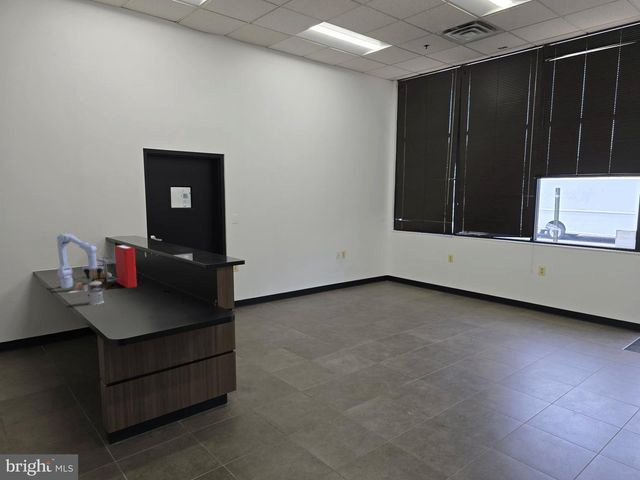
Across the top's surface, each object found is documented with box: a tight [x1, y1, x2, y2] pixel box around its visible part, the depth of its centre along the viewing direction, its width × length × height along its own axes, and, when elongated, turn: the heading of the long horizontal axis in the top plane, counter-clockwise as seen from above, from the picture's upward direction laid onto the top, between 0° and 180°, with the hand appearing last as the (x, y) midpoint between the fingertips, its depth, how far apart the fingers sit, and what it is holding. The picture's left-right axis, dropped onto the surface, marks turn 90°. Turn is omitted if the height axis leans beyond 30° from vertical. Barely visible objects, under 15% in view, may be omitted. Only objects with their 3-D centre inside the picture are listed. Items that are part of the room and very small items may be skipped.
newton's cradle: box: [92, 256, 117, 282], centre depth 372 cm, size 30×10×18 cm, turn 48°
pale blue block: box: [67, 284, 89, 294], centre depth 321 cm, size 6×12×6 cm, turn 98°
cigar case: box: [91, 268, 108, 284], centre depth 353 cm, size 11×2×12 cm, turn 124°
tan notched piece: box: [73, 281, 93, 291], centre depth 329 cm, size 6×12×6 cm, turn 98°
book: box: [114, 243, 138, 289], centre depth 348 cm, size 27×8×32 cm, turn 41°
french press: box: [88, 268, 105, 306], centre depth 293 cm, size 10×12×25 cm
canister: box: [74, 282, 83, 291], centre depth 329 cm, size 4×4×4 cm
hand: (93, 278), depth 330 cm, fingers open, 7 cm apart
